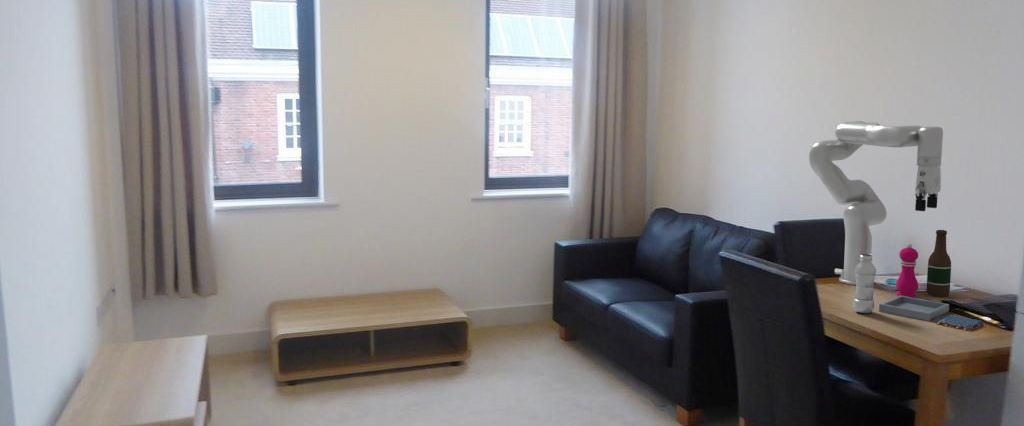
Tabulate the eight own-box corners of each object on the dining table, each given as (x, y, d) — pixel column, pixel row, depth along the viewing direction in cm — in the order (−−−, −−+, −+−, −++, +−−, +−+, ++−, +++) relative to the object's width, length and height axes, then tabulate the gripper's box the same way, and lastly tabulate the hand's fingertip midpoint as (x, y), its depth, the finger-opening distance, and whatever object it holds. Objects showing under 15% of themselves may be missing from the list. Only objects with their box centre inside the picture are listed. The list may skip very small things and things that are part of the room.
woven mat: (970, 333, 226) (971, 327, 226) (934, 325, 234) (935, 319, 234) (985, 326, 232) (985, 320, 232) (949, 319, 241) (949, 313, 240)
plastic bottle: (848, 311, 251) (850, 254, 248) (862, 308, 253) (865, 252, 250) (864, 316, 245) (866, 257, 242) (878, 313, 247) (881, 255, 244)
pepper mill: (920, 300, 261) (923, 245, 258) (898, 299, 263) (901, 245, 260) (913, 295, 268) (916, 241, 265) (892, 294, 270) (895, 241, 267)
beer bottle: (945, 298, 263) (949, 233, 259) (922, 294, 269) (925, 230, 265) (953, 294, 268) (957, 230, 264) (930, 290, 274) (933, 227, 270)
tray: (879, 311, 250) (879, 304, 249) (899, 302, 260) (899, 295, 259) (929, 321, 237) (929, 313, 237) (948, 311, 247) (949, 304, 247)
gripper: (930, 164, 251) (927, 213, 253) (950, 160, 261) (947, 207, 264) (907, 162, 256) (904, 211, 259) (927, 159, 267) (925, 205, 270)
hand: (926, 209), depth 261 cm, fingers open, 9 cm apart
